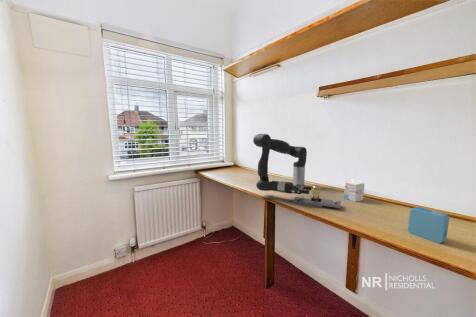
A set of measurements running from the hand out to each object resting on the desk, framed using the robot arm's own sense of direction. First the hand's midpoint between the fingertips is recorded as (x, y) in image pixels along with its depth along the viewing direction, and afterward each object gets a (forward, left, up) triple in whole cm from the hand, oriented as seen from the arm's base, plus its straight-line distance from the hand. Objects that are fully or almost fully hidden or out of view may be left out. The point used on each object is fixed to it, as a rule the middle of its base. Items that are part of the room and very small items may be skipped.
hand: (310, 190), depth 132 cm
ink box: (-22, +25, -9) cm, 34 cm away
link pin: (0, +4, -9) cm, 9 cm away
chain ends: (0, +4, -9) cm, 9 cm away
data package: (+19, +53, -9) cm, 57 cm away
